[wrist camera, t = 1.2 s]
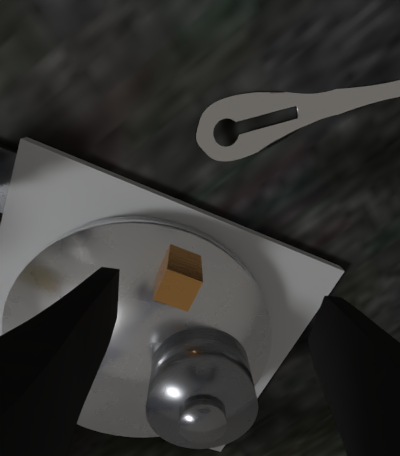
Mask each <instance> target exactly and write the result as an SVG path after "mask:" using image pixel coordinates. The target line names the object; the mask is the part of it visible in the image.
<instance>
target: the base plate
mask: <svg viewBox="0 0 400 456" xmlns="http://www.w3.org/2000/svg"><path fill="white" fill-rule="evenodd" d="M125 216H144V217H156V218H161V219H166V220H172V221H176V222H179V223H182V224H185V225H188V226H191V227H193V228H196V229H198V230H200V231H202V232H204V233H206V234H208V235H210V236H212V237H213V238H215V239H216V240H218V241H219V242H221V243H222V244H224V245H225V246H226V247H227V248H229V249H230V250H231V251H232V252H233V253H234V254H236V255H237V256H238V257H239V259H240V260H241V261H242V262H243V263H244V264H245V265H246V266H247V268H248V269H249V271H250V272H251V274H252V275H253V277H254V278H255V280H256V282H257V284H258V286H259V289H260V291H261V293H262V296H263V298H264V301H265V304H266V306H267V310H268V314H269V317H270V323H271V332H272V336H271V349H270V353H269V358H268V361H267V364H266V366H265V369H264V372H263V374H262V375H261V377H260V379H259V381H258V382H257V384H256V385H255V392H256V396H257V398H258V397H259V395H260V394H261V392H262V391H263V389H264V388H265V386H266V385H267V384H268V382H269V381H270V379H271V378H272V376H273V375H274V373H275V372H276V370H277V369H278V368H279V366H280V365H281V363H282V362H283V360H284V359H285V357H286V356H287V355H288V353H289V352H290V350H291V349H292V347H293V346H294V344H295V343H296V341H297V340H298V339H299V337H300V336H301V334H302V333H303V331H304V330H305V328H306V327H307V325H308V324H309V323H310V321H311V320H312V318H313V317H314V315H315V314H316V312H317V311H318V309H319V308H320V306H321V304H322V301H323V298H324V296H328V295H329V293H330V292H331V291H332V289H333V288H334V286H335V285H336V283H337V282H338V280H339V279H340V277H341V276H342V275H343V273H344V272H345V271H344V270H343V269H342V268H341V267H340V266H339V265H337V264H334V263H332V262H329V261H327V260H324V259H322V258H320V257H317V256H315V255H312V254H310V253H307V252H305V251H303V250H300V249H298V248H295V247H293V246H290V245H288V244H286V243H283V242H281V241H278V240H276V239H273V238H271V237H269V236H266V235H264V234H261V233H259V232H256V231H254V230H252V229H249V228H247V227H244V226H242V225H239V224H237V223H235V222H232V221H230V220H227V219H225V218H222V217H220V216H218V215H215V214H213V213H210V212H208V211H205V210H203V209H201V208H198V207H196V206H193V205H191V204H188V203H186V202H184V201H181V200H179V199H176V198H174V197H171V196H169V195H167V194H164V193H162V192H159V191H157V190H155V189H152V188H150V187H147V186H145V185H142V184H140V183H138V182H135V181H133V180H130V179H128V178H125V177H123V176H121V175H118V174H116V173H113V172H111V171H108V170H106V169H104V168H101V167H99V166H96V165H94V164H91V163H89V162H87V161H84V160H82V159H79V158H77V157H74V156H72V155H70V154H67V153H65V152H62V151H60V150H57V149H55V148H53V147H50V146H48V145H45V144H43V143H40V142H38V141H36V140H33V139H31V138H28V137H25V138H21V139H20V143H19V147H18V151H17V155H16V160H15V164H14V168H13V173H12V177H11V181H10V186H9V190H8V194H7V199H6V203H5V207H4V211H3V216H2V220H1V224H0V336H1V335H2V317H3V311H4V305H5V302H6V299H7V297H8V294H9V291H10V289H11V287H12V286H13V284H14V282H15V280H16V279H17V277H18V276H19V274H20V273H21V272H22V271H23V269H24V268H25V267H26V266H27V265H28V263H29V262H30V261H31V260H32V259H33V258H34V257H35V256H36V255H37V254H38V253H39V252H41V251H42V250H43V249H44V248H45V247H46V246H47V245H48V244H50V243H51V242H52V241H54V240H55V239H57V238H58V237H60V236H61V235H63V234H64V233H66V232H69V231H71V230H73V229H75V228H77V227H79V226H82V225H85V224H88V223H91V222H94V221H98V220H102V219H108V218H114V217H125ZM225 445H226V444H225ZM225 445H222V446H219V447H214V448H209V449H212V450H216V451H220V452H221V450H222V449H223V448H224V446H225Z"/></svg>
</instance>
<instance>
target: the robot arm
mask: <svg viewBox="0 0 400 456" xmlns="http://www.w3.org/2000/svg"><path fill="white" fill-rule="evenodd" d="M119 273H120V269H115V268H107V267H101V268H99V269H98V270H97V271H95V272H94V273H93V274H92V275H90V276H89V277H88V278H87V279H85V280H84V281H83V282H82V283H80V284H79V285H78V286H76V287H75V288H74V289H73V290H71V291H70V292H69V293H67V294H66V295H65V296H63V297H62V298H61V299H59V300H58V301H56V302H55V303H54V304H52V305H51V306H49V307H48V308H46V309H45V310H43V311H42V312H40V313H39V314H37V315H36V316H34V317H33V318H31V319H29V320H28V321H26V322H24V323H23V324H21V325H19V326H17V327H15V328H14V329H12V330H10V331H8V332H6V333H5V334H3V335H1V336H0V456H66V455H67V452H68V449H69V446H70V443H71V440H72V437H73V434H74V430H75V427H76V424H77V421H78V418H79V416H80V413H81V410H82V408H83V405H84V403H85V401H86V398H87V396H88V393H89V391H90V389H91V386H92V384H93V382H94V379H95V377H96V375H97V372H98V370H99V368H100V365H101V363H102V360H103V358H104V356H105V353H106V351H107V348H108V346H109V344H110V340H111V337H112V334H113V330H114V327H115V323H116V319H117V313H118V293H119ZM308 343H309V347H310V352H311V356H312V360H313V364H314V367H315V370H316V373H317V376H318V378H319V381H320V383H321V386H322V389H323V391H324V394H325V396H326V399H327V401H328V404H329V407H330V409H331V412H332V414H333V417H334V419H335V422H336V424H337V427H338V430H339V432H340V435H341V438H342V441H343V444H344V446H345V450H346V453H347V456H400V343H399V342H398V341H397V340H395V339H394V338H393V337H392V336H390V335H389V334H388V333H387V332H385V331H384V330H383V329H381V328H380V327H379V326H378V325H376V324H375V323H374V322H373V321H372V320H370V319H369V318H368V317H367V316H365V315H364V314H363V313H362V312H360V311H359V310H358V309H356V308H355V307H354V306H353V305H351V304H350V303H348V302H347V301H346V300H344V299H343V298H340V297H332V296H324V298H323V301H322V304H321V306H320V309H319V311H318V314H317V317H316V319H315V322H314V325H313V327H312V330H311V332H310V335H309V338H308Z"/></svg>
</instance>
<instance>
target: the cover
mask: <svg viewBox="0 0 400 456" xmlns="http://www.w3.org/2000/svg"><path fill="white" fill-rule="evenodd" d="M257 413H258V401H257V396H256V392H255V387H254V383H253V379H252V374H251V370H250V365H249V361H248V357H247V354H246V351H245V349H244V347H243V346H242V345H241V343H240V342H239V341H238V340H237V339H236V338H234V337H233V336H231V335H230V334H228V333H226V332H223V331H221V330H217V329H213V328H204V327H200V328H190V329H186V330H182V331H180V332H177V333H175V334H173V335H171V336H170V337H168V338H167V339H165V340H164V341H163V342H162V343H161V344H160V346H159V347H158V348H157V350H156V351H155V354H154V356H153V360H152V366H151V373H150V380H149V387H148V394H147V401H146V418H147V421H148V423H149V425H150V427H151V428H152V429H153V431H154V432H155V433H156V434H157V435H158V436H160V437H161V438H162V439H164V440H166V441H167V442H169V443H172V444H174V445H177V446H180V447H185V448H192V449H208V448H214V447H219V446H222V445H225V444H228V443H230V442H232V441H234V440H236V439H238V438H239V437H241V436H242V435H243V434H245V433H246V432H247V431H248V430H249V429H250V427H251V426H252V425H253V423H254V421H255V419H256V417H257Z"/></svg>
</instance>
